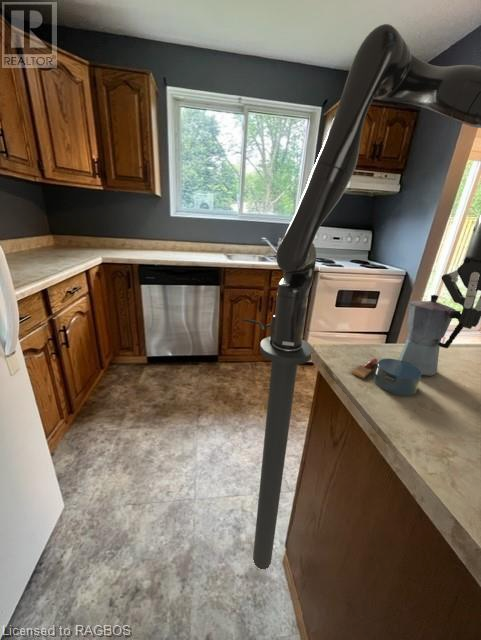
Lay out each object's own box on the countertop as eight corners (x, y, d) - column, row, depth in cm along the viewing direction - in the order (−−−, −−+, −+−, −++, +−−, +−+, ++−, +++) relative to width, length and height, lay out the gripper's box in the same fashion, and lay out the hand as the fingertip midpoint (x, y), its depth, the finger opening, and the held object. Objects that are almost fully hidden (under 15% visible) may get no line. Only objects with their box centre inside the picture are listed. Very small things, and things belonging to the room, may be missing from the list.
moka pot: (408, 354, 80) (427, 288, 74) (459, 383, 67) (489, 305, 60) (381, 356, 78) (399, 289, 71) (429, 387, 64) (456, 306, 57)
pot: (364, 385, 64) (368, 368, 62) (384, 368, 72) (388, 353, 70) (406, 403, 58) (412, 385, 56) (422, 383, 66) (428, 367, 64)
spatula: (363, 378, 66) (364, 373, 66) (351, 373, 68) (352, 368, 68) (380, 364, 74) (381, 360, 73) (369, 360, 76) (370, 355, 75)
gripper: (556, 236, 44) (514, 333, 51) (458, 231, 53) (431, 314, 59) (559, 236, 40) (511, 344, 46) (450, 230, 48) (422, 321, 54)
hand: (466, 327), depth 52 cm, fingers closed
